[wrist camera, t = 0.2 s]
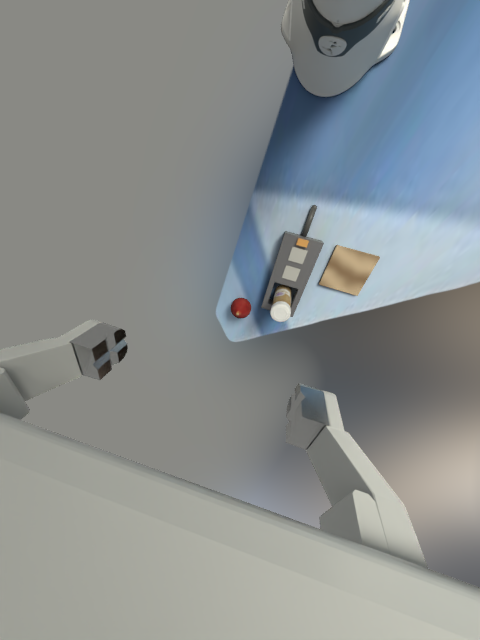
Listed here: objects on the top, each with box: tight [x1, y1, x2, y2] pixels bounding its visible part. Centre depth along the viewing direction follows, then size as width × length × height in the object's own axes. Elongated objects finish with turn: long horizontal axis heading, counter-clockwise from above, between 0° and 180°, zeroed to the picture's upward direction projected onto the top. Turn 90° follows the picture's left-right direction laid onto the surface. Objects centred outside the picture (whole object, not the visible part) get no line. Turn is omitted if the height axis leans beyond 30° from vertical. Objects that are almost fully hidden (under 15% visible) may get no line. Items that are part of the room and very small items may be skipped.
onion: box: [231, 298, 251, 318], centre depth 58 cm, size 6×6×8 cm
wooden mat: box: [319, 245, 380, 295], centre depth 50 cm, size 10×10×1 cm
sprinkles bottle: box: [270, 284, 291, 322], centre depth 51 cm, size 5×5×13 cm
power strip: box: [261, 205, 324, 317], centre depth 50 cm, size 27×9×4 cm, turn 168°
